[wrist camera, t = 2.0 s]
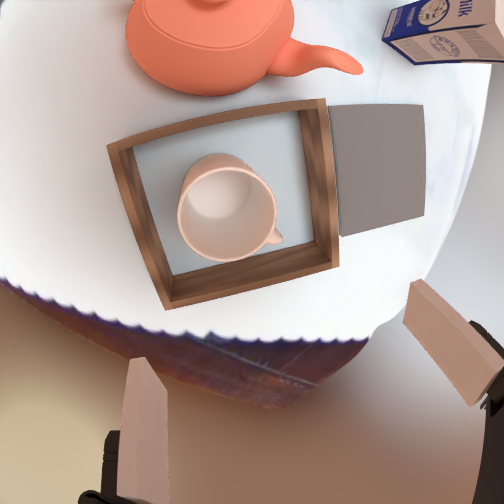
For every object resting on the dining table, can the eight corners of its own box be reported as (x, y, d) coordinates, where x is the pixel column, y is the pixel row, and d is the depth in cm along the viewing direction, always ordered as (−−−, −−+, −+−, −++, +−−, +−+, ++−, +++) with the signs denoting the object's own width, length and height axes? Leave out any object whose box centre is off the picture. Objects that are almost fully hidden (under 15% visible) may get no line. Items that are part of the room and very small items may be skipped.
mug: (248, 245, 37) (267, 292, 28) (169, 198, 33) (158, 232, 23) (288, 193, 35) (322, 224, 26) (210, 138, 30) (215, 146, 21)
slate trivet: (327, 106, 31) (330, 106, 30) (419, 105, 32) (422, 105, 31) (339, 234, 39) (342, 236, 38) (420, 214, 40) (423, 215, 40)
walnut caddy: (122, 140, 28) (106, 145, 23) (304, 100, 30) (325, 98, 25) (168, 283, 38) (165, 310, 32) (321, 245, 39) (339, 266, 34)
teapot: (336, 40, 27) (400, 15, 15) (270, 141, 32) (313, 156, 20) (165, -43, 17) (156, -101, 6) (89, 58, 23) (35, 33, 11)
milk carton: (391, 8, 24) (496, -17, 7) (423, 34, 26) (526, 27, 9) (381, 40, 27) (496, 22, 9) (414, 66, 29) (526, 68, 11)
